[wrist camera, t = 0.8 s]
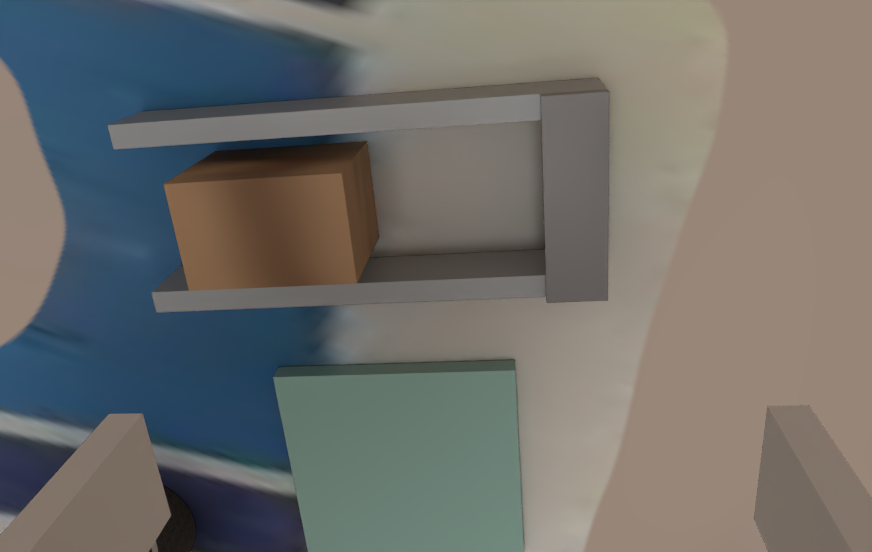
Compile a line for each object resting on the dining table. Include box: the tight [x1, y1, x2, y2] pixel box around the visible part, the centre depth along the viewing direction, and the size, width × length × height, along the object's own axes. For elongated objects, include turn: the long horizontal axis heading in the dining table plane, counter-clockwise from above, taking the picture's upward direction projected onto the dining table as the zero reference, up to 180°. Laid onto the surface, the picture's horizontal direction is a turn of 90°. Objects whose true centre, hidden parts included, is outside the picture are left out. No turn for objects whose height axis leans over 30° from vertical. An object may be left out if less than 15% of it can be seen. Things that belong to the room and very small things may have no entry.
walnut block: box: [164, 141, 379, 291], centre depth 31 cm, size 7×4×6 cm, turn 95°
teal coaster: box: [273, 360, 524, 552], centre depth 38 cm, size 12×12×1 cm
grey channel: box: [108, 78, 609, 312], centre depth 31 cm, size 20×8×4 cm, turn 95°
